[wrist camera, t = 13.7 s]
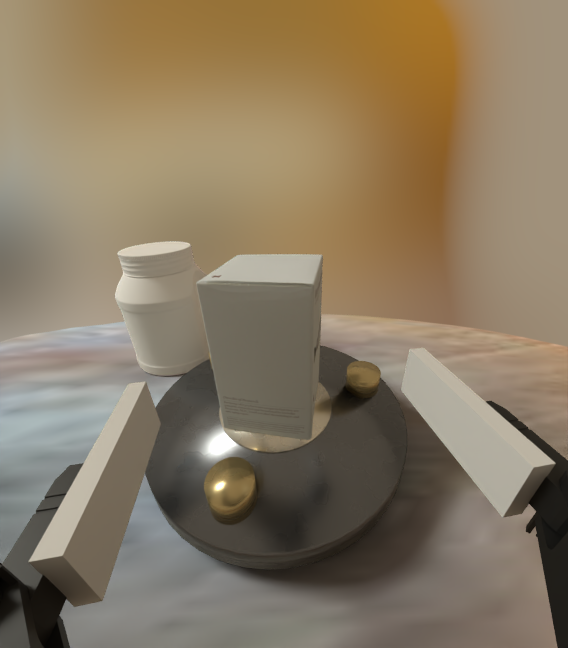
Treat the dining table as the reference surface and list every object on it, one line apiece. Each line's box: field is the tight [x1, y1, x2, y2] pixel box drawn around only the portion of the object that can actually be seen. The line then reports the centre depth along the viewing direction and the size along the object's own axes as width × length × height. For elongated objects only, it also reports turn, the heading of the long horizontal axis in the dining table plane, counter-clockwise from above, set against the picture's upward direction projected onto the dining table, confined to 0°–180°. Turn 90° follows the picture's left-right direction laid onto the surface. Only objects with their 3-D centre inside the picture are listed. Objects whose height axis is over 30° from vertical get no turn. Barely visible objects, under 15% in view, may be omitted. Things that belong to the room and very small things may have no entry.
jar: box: [115, 242, 209, 376], centre depth 36 cm, size 12×10×15 cm
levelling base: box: [145, 346, 407, 570], centre depth 25 cm, size 22×22×6 cm
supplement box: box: [196, 254, 323, 440], centre depth 21 cm, size 7×7×13 cm
